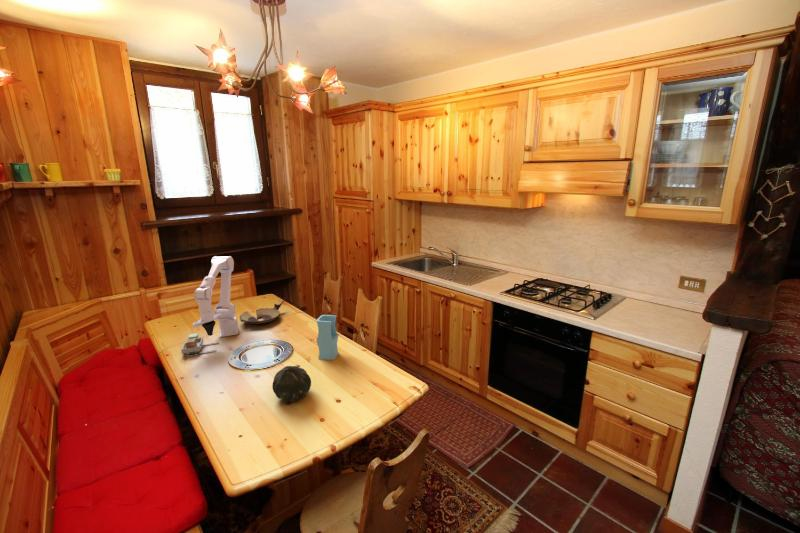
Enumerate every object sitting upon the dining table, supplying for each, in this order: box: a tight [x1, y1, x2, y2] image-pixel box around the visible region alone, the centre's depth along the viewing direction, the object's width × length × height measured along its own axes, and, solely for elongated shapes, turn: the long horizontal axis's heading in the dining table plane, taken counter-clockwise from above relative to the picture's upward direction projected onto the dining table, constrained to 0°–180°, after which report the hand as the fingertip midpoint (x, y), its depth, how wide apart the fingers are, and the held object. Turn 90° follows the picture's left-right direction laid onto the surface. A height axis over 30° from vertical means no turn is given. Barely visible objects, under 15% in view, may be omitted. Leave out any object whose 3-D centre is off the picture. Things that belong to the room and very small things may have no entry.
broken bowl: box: [239, 299, 284, 325], centre depth 222 cm, size 22×30×8 cm
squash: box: [271, 365, 312, 404], centre depth 147 cm, size 14×15×15 cm
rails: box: [182, 341, 220, 358], centre depth 188 cm, size 15×10×1 cm
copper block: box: [184, 338, 197, 348], centre depth 183 cm, size 4×4×4 cm
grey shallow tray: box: [180, 337, 204, 356], centre depth 186 cm, size 8×11×4 cm
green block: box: [187, 332, 200, 339], centre depth 195 cm, size 4×4×4 cm
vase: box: [316, 314, 339, 361], centre depth 177 cm, size 8×8×20 cm
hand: (210, 335), depth 188 cm, fingers closed
